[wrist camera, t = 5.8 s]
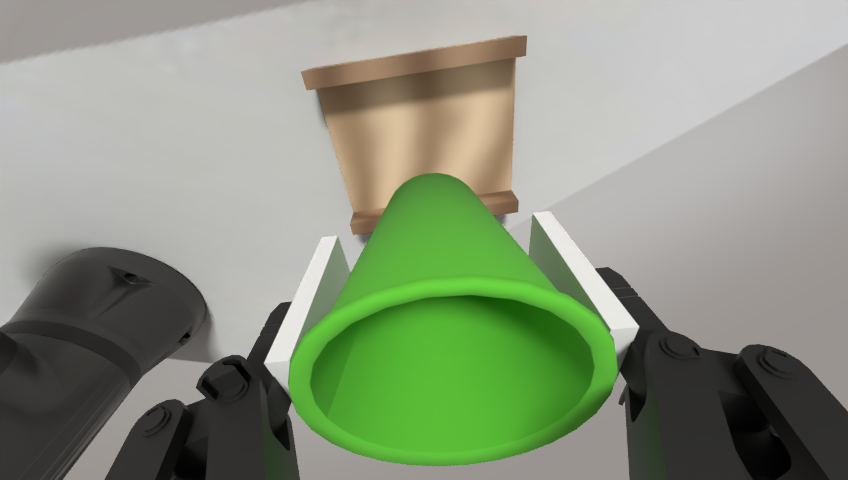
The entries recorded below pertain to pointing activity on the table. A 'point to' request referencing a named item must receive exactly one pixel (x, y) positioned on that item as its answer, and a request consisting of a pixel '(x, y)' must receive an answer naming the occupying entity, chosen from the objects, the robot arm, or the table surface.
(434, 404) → the cup
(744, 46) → the table surface
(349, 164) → the wooden tray
